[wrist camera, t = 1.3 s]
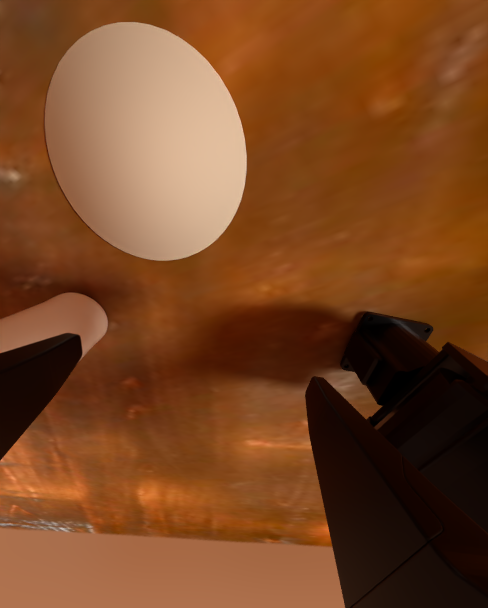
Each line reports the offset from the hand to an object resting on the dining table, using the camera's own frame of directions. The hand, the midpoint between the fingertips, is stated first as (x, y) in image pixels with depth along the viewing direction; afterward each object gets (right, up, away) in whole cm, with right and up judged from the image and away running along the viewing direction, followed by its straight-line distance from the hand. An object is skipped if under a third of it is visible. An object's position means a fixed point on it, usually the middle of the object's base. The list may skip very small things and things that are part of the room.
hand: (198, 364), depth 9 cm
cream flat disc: (-5, +12, +8) cm, 15 cm away
